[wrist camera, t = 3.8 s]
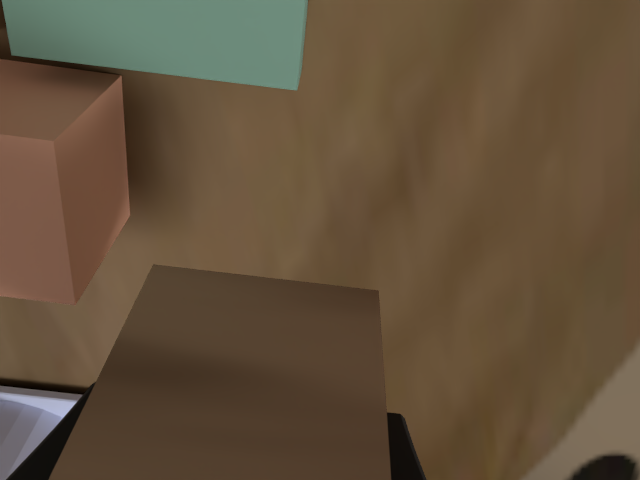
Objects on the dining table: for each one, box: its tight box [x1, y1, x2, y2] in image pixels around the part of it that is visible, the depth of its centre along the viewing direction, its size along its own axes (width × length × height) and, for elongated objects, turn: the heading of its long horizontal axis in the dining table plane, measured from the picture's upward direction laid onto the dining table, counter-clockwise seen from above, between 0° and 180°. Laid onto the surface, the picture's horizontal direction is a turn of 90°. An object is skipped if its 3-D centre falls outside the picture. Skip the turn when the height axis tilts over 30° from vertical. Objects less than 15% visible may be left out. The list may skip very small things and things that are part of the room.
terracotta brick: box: [0, 59, 130, 305], centre depth 16 cm, size 4×4×4 cm
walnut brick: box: [49, 265, 391, 480], centre depth 11 cm, size 4×4×5 cm
